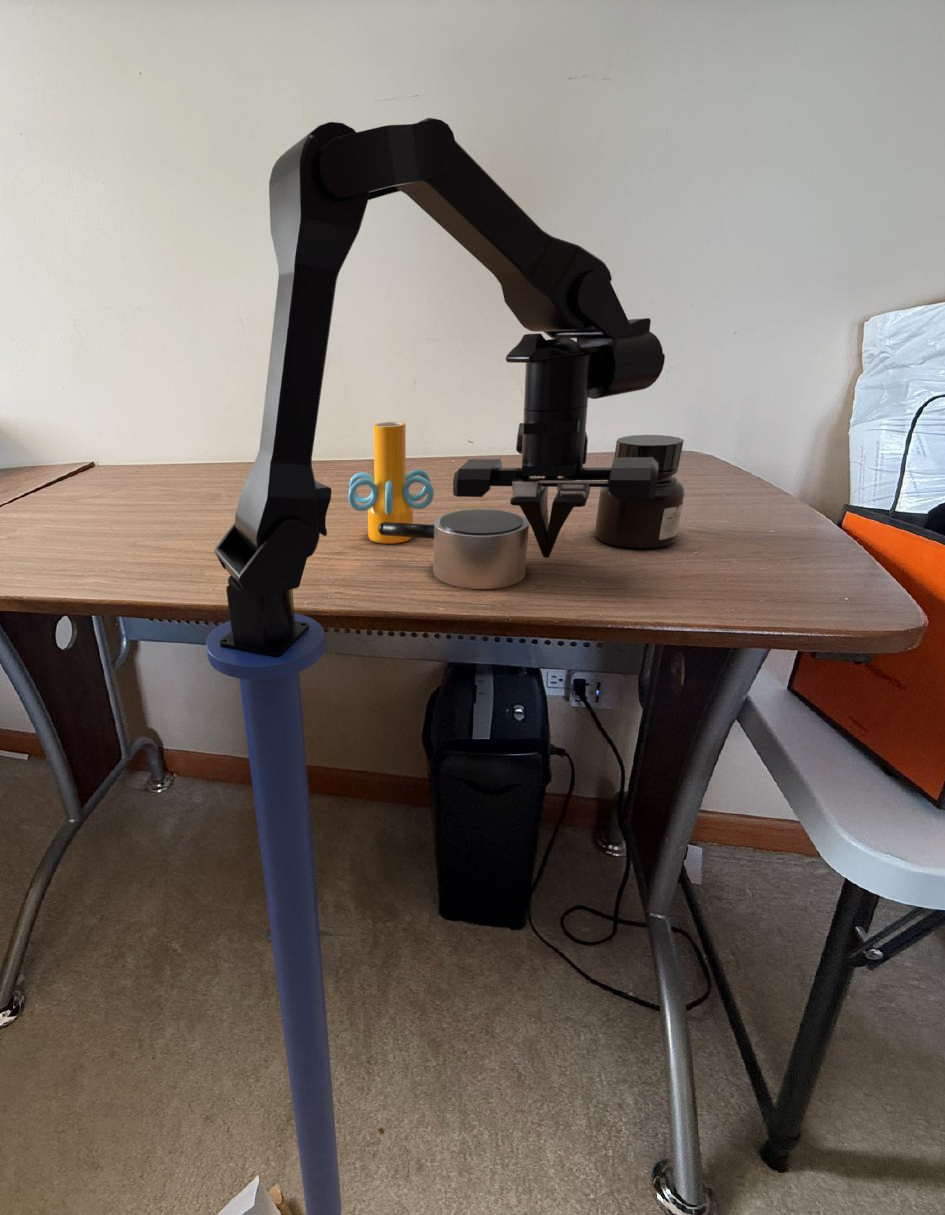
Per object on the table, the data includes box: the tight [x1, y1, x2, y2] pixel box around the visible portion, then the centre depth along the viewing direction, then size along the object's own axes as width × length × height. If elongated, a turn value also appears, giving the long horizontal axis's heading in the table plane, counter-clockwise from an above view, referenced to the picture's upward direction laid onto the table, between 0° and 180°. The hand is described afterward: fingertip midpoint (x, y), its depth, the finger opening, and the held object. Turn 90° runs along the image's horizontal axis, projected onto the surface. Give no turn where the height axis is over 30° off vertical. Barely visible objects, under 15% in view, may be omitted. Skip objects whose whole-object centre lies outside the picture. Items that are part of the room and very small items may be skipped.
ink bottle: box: [594, 434, 686, 549], centre depth 75 cm, size 10×9×12 cm
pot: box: [378, 508, 530, 590], centre depth 72 cm, size 17×10×6 cm, turn 64°
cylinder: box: [347, 421, 435, 545], centre depth 82 cm, size 12×10×15 cm
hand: (546, 556), depth 67 cm, fingers closed
